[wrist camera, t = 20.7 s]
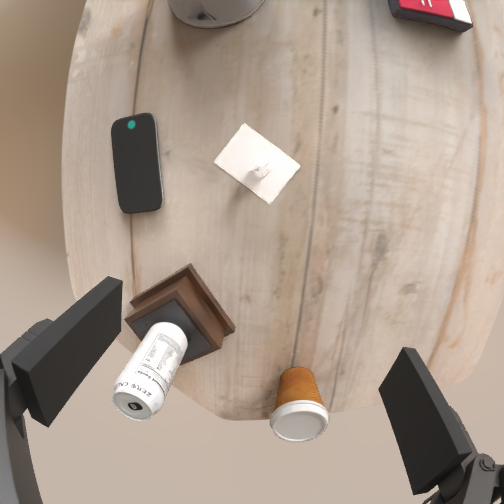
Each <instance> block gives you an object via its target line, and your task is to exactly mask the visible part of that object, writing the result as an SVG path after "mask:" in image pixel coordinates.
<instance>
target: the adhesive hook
mask: <svg viewBox="0 0 504 504" xmlns="http://www.w3.org/2000/svg"><path fill="white" fill-rule="evenodd" d="M270 163H271V161H270V160H268V161H267V162H266V163H263V164H260V163H257V164H255V165H254V166H253V167H252V168H251V169H250V170H249V171H250V172H251V173H253V174H255V175H256V179H257V180H258V181H259V182H261V181H263V180H264V179H265V178H266V177H267V176H268V175H270V174H271V173H272V172H273V171H274V169H275V167H274V166H273V165H272V164H270Z"/></svg>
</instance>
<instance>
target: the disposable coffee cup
mask: <svg viewBox="0 0 504 504" xmlns="http://www.w3.org/2000/svg"><path fill="white" fill-rule="evenodd" d="M328 422H329V413H328V411H327V410H326V409H325V408H324V405H323V402H322V400H321V396H320V393H319V391H318V388H317V385H316V382H315V379H314V376H313V373H312V372H311V371H310V370H308V369H306V368H302V367H294V368H291V369H288V370H286V371H285V372H284V373H283V374H282V375H281V377H280V383H279V388H278V394H277V399H276V404H275V409H274V413H273V414H272V416H271V418H270V426H271V428H272V429H273V431H274V433H275V435H276V436H278V437H279V438H281V439H283V440H286V441H290V442H304V441H309V440H312V439H314V438H317V437H318V436H320V435H321V434H322V433H323V432H324V431H325V430H326V428H327V424H328Z"/></svg>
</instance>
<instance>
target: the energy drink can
mask: <svg viewBox="0 0 504 504" xmlns="http://www.w3.org/2000/svg"><path fill="white" fill-rule="evenodd" d="M187 345H188V344H187V338H186V336H185V334H184V332H183V331H182V330H181V329H180V328H179V327H178V326H177V325H175V324H172V323H168V322H161V323H157V324H154V325H153V326H152V327H151V328H150V330H149V331H148V333H147V334H146V336H145V337H144V339H143V340H142V342H141V343H140V345H139V346H138V348H137V349H136V351H135V352H134V354H133V355H132V357H131V358H130V360H129V362H128V363H127V365H126V366H125V368H124V369H123V371H122V372H121V374H120V375H119V377H118V378H117V380H116V382H115V383H114V395H113V398H112V399H113V403H114V405H115V407H116V408H117V409H118V410H119V411H120V412H121V413H122V414H123V415H125V416H127V417H128V418H131V419H133V420H136V421H147V420H149V419H150V418H151V416H152V415H154V414H156V413H157V412H159V411H160V409H161V407H162V405H163V402H164V400H165V398H166V395H167V393H168V391H169V388H170V386H171V384H172V381H173V379H174V377H175V374H176V372H177V370H178V367H179V365H180V363H181V360H182V358H183V356H184V354H185V351H186V349H187Z"/></svg>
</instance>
